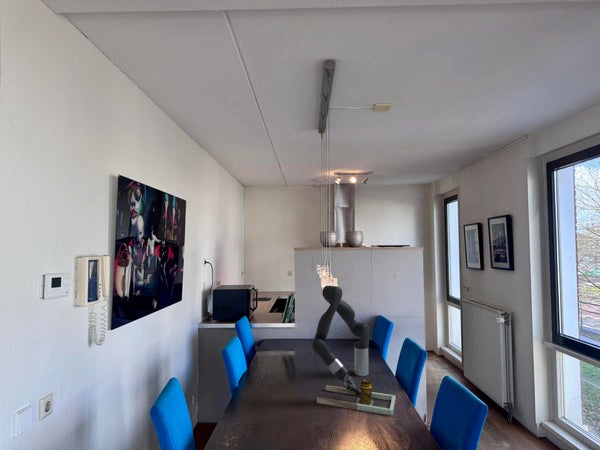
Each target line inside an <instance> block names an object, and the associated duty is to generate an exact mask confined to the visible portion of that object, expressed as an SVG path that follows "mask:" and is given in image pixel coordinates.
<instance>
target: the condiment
mask: <svg viewBox="0 0 600 450" xmlns="http://www.w3.org/2000/svg"><path fill="white" fill-rule="evenodd" d="M372 388H373V387H372V381H371V380H370V379H367V378H362V379H361V380H360V389H359V390H360V392H361V395H360V396H359V397H357V400H356V402H355V403H358V404H364V405H370V406H373V403H374V400H372V399H373V398H372V392H373V389H372Z"/></svg>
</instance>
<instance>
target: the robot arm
mask: <svg viewBox="0 0 600 450" xmlns="http://www.w3.org/2000/svg"><path fill="white" fill-rule="evenodd" d="M322 296H323V299H324V300H325V301H326V302H327V303H328V304H329V307H328V308H327V309H326V310H325V312H324V313H323V314H322V315H321V317H320V318H319V320H318V324H317V327H316V333H315V335H314V338H313V342H312V350H313V351H314V352H315V353H316V354H317V355H318V356H319V357H320V358H321V360H322V361H323V363H324V364H325V365H326V366H327V368H328V369H329V371H330V372H331V373H332V374H333V375H334V377H335V378H336V380H338V381H340V380H341V381H342V383H343V384H344V385H343V388H346V389H348V390H349V391H354V393H355V394H356V395H355V396H357V397H360V394H361V392H360V391H359V390H360V389H358V388H357V383H356V381H355V378H354V377H353V376H352V375H351V376H350V374H349V370H348V369H347V367H346V366H345V365H344V364H343V362H341V360H339V358H337V356H336V355H335V354H334V353H333V351H331V350H330V348H329V346H328V345H327V344H326V341H327V337H328V334H329V331H330V328H331V324H332V321H333V318H334V316H335V313H336V312H337V314H338V315H339V317H340V318H341V319H342V320H343V322H344V323H345V324H346V325H347V326H348V327H347V328H348V329H349V330H350V332H351V333H352V335H353V336H355V337H358V338H360V340H358V341H355V342H354V344H353V345H354V346H353V347H354V349H353V350H354V353H353V354H354V356H353V357H354V360H353V361H354V374H355V375H356V376H358V377H359V376H360V377H365V376H369V343H370V326H369V324H368V323H363V322H359V321H357V320H356V319H355V317H356V313H355V310H354V309H353V308H352V306H351V305H350V304H349V303H347V302H346V301H345V300H343V299H342V298H343V289H342V287H340V286H338V285H337V286H336V285H325V286H324V287H323V288H322Z"/></svg>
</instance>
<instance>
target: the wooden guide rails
mask: <svg viewBox="0 0 600 450" xmlns="http://www.w3.org/2000/svg"><path fill="white" fill-rule="evenodd" d="M358 390H359V391H360V389H358ZM325 391H327V392H333V393H339V394H347V395H352V396H353V395H354V396H357V395H356V394H355V393H354V391H349V390H348V389H346V388H345V387H342V386H334V385H328V384H326V385H325ZM360 395H361V394H360ZM316 403H317V404H322V405H327V406H335V407H339V408H346V409H351V410H357V404H358V403H356V402H351V401H345V400H339V399H334V398H326V397H321V396H320V397H319V396H317V397H316Z"/></svg>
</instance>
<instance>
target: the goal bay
mask: <svg viewBox="0 0 600 450" xmlns="http://www.w3.org/2000/svg"><path fill="white" fill-rule="evenodd" d="M396 397H397V396H396V395H395V394H394V395H393V394H387V393H382V392H381V393H380V392H374V391H372V399H378V400H384V401H390V400H391V402H390V406H389V408H386V407H381V406H375V405H372V406H370V405H364V404H357V410H358V411H362V412H369V413H373V412H374V414H379V413H380V414H379V415H385V414H387V416H391V415H392V416H393V414H394V411H393V410H395V409H394V408H395V406H394V405H395V404H396V401H395V400H396Z"/></svg>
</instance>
